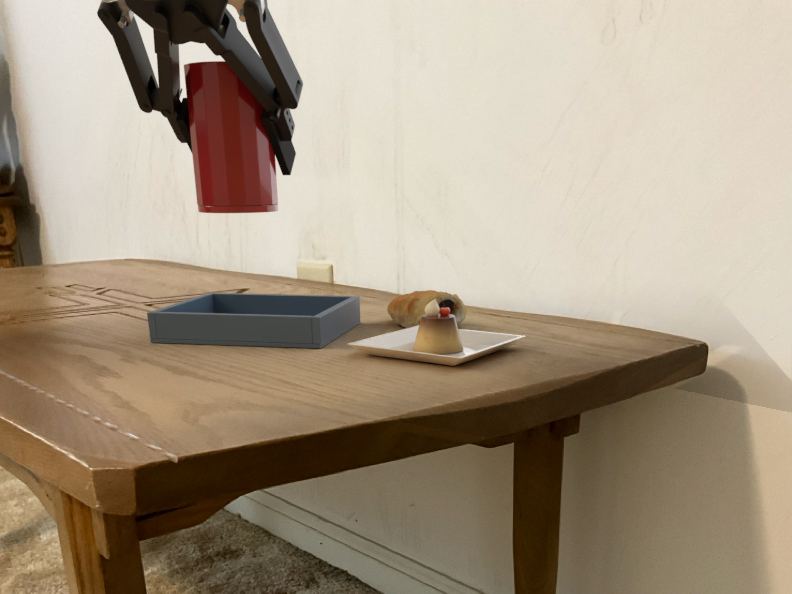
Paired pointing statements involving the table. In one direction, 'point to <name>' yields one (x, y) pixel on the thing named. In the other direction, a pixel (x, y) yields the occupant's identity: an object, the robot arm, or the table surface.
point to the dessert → (436, 340)
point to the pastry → (423, 306)
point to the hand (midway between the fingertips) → (249, 164)
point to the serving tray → (255, 320)
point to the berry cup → (228, 142)
